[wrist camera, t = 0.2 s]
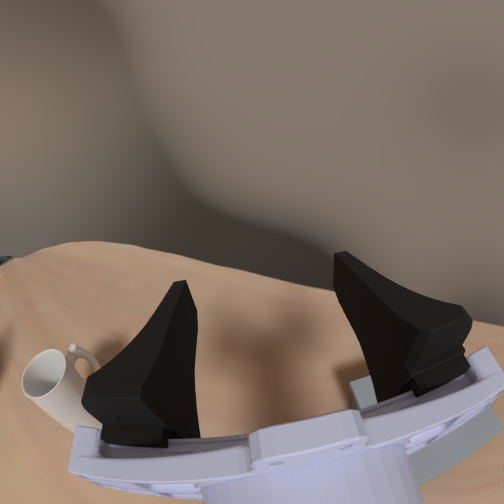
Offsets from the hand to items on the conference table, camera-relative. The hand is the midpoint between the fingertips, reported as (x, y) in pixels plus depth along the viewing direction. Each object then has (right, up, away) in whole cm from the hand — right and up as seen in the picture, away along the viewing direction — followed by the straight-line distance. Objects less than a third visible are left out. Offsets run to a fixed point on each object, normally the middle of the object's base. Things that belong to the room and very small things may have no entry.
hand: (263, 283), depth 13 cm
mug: (-20, -20, +14) cm, 32 cm away
